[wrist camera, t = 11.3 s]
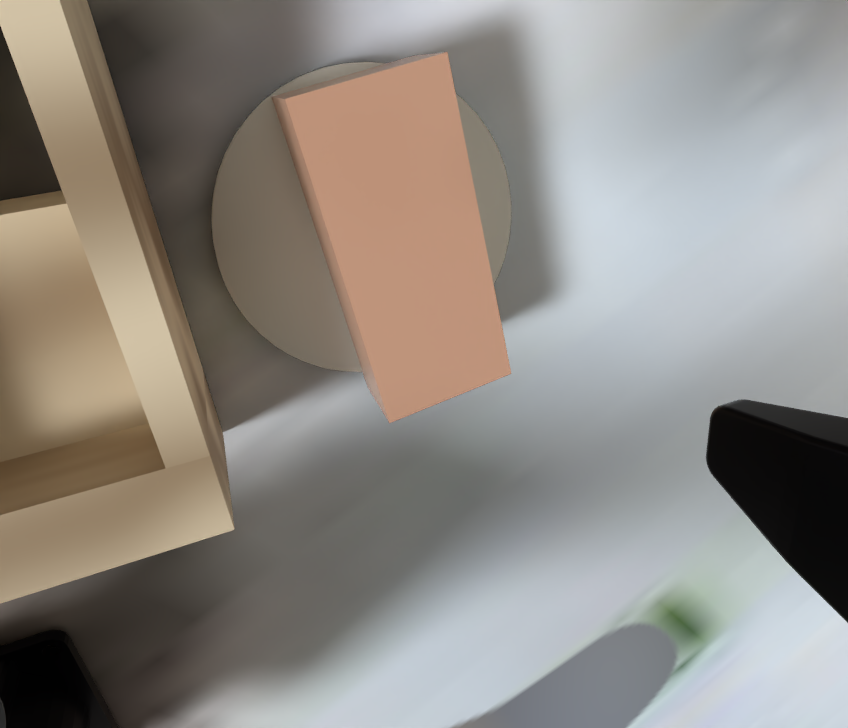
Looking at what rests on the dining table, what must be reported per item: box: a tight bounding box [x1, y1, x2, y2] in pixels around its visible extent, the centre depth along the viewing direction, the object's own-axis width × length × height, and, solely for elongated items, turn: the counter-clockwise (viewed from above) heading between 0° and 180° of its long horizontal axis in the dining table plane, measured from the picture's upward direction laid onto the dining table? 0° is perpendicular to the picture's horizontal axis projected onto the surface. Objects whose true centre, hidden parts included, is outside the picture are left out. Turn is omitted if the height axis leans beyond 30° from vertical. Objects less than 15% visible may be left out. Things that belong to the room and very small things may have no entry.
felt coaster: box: [211, 62, 511, 372], centre depth 19 cm, size 9×9×1 cm
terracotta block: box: [272, 52, 511, 423], centre depth 18 cm, size 9×4×2 cm, turn 14°
